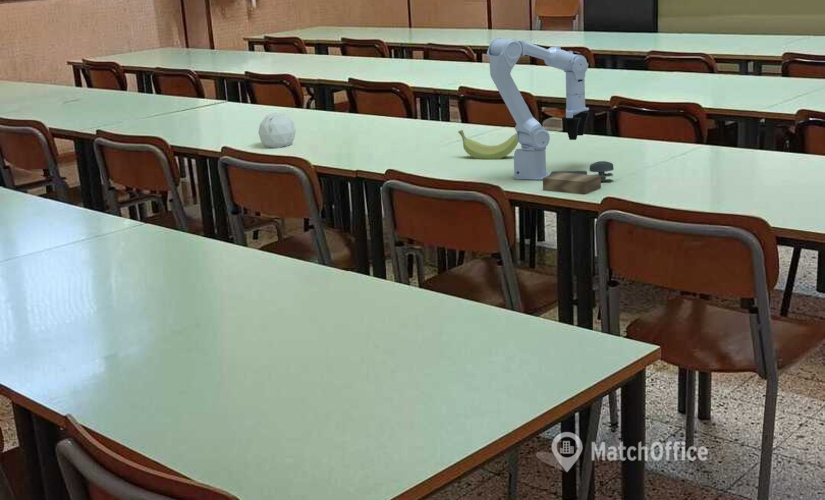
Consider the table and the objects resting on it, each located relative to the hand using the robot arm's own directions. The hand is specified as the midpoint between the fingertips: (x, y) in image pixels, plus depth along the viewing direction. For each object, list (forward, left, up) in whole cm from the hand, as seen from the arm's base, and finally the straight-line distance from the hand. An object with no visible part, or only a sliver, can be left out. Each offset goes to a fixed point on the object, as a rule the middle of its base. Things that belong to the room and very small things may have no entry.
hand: (576, 137), depth 331 cm
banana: (-26, +13, -8) cm, 30 cm away
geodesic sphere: (-123, +21, -11) cm, 125 cm away
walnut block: (+6, -26, -11) cm, 29 cm away
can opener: (+6, -15, -11) cm, 20 cm away
